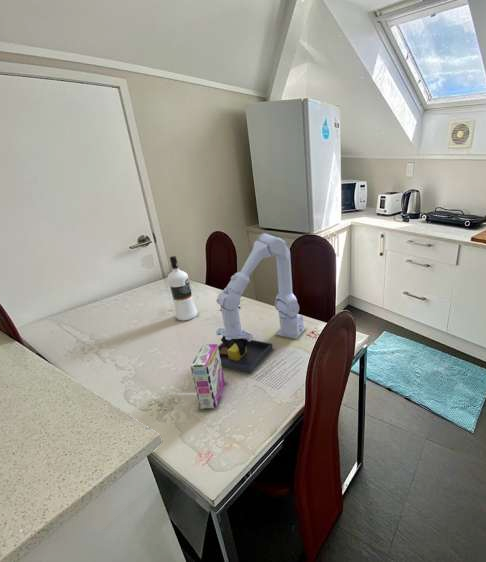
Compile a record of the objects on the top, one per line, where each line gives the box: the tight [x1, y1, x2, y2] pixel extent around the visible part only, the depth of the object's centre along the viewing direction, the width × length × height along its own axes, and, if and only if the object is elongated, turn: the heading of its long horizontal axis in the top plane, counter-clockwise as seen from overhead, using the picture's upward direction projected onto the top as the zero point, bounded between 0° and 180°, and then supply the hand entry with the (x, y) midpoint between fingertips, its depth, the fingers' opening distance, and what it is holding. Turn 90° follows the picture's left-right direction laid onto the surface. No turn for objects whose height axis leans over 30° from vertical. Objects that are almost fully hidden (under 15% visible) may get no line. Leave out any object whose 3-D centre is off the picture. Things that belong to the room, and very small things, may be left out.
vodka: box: [166, 255, 198, 322], centre depth 142 cm, size 9×9×30 cm
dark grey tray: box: [218, 339, 273, 375], centre depth 118 cm, size 19×15×3 cm
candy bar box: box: [190, 343, 226, 410], centre depth 97 cm, size 11×5×16 cm, turn 5°
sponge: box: [227, 344, 247, 361], centre depth 118 cm, size 4×6×4 cm, turn 162°
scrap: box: [219, 347, 228, 357], centre depth 120 cm, size 4×4×1 cm
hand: (237, 352), depth 118 cm, fingers closed on sponge, 4 cm apart
